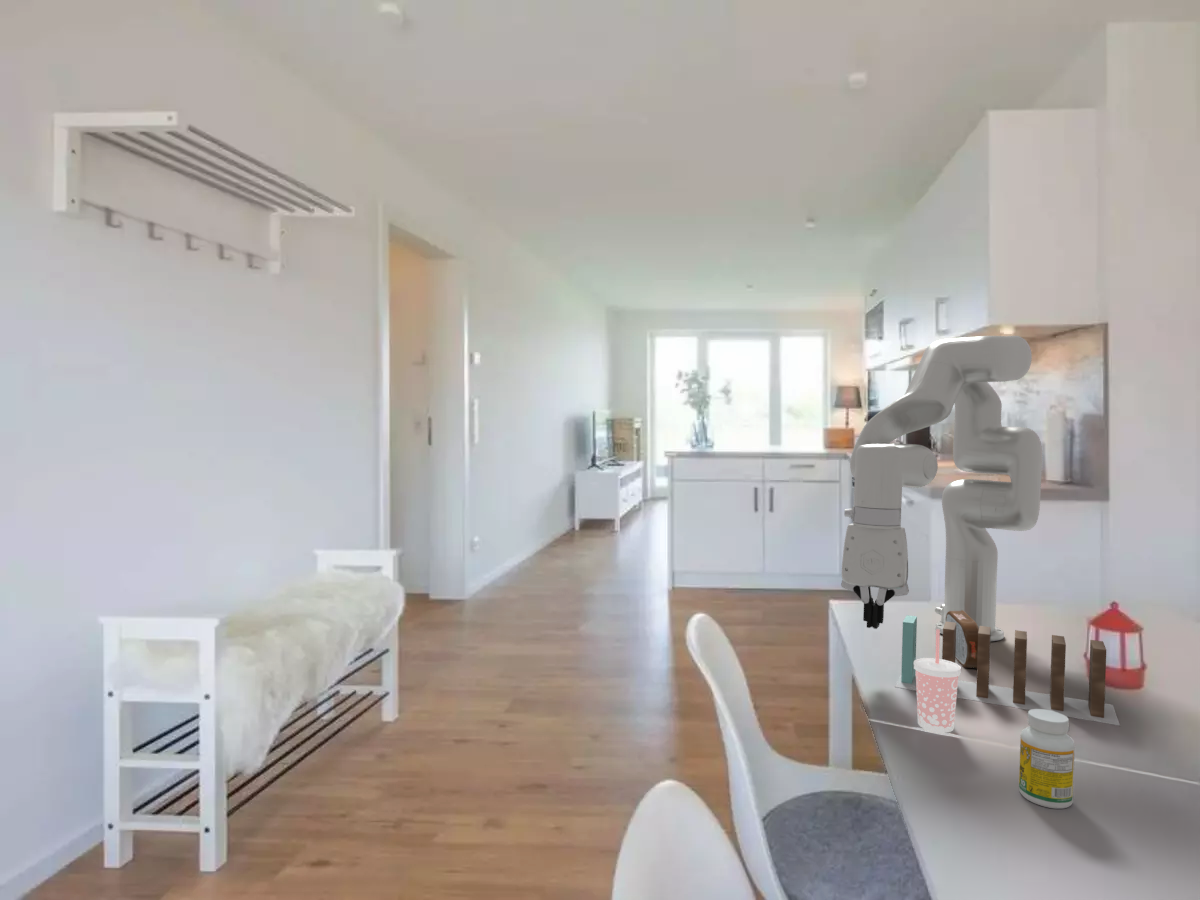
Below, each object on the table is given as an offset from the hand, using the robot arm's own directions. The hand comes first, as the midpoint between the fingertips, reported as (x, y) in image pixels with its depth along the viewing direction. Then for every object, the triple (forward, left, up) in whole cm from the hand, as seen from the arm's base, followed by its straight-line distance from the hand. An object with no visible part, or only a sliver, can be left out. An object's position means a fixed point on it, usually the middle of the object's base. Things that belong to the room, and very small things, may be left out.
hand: (873, 626), depth 126 cm
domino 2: (+8, +9, -8) cm, 14 cm away
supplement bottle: (+41, -5, -9) cm, 42 cm away
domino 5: (+18, +20, -8) cm, 28 cm away
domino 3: (+11, +13, -8) cm, 19 cm away
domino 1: (+3, +5, -8) cm, 10 cm away
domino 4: (+14, +16, -8) cm, 23 cm away
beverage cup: (+21, -4, -9) cm, 23 cm away
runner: (+13, +14, -9) cm, 21 cm away
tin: (-4, +21, -9) cm, 24 cm away
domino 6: (+21, +23, -8) cm, 33 cm away
